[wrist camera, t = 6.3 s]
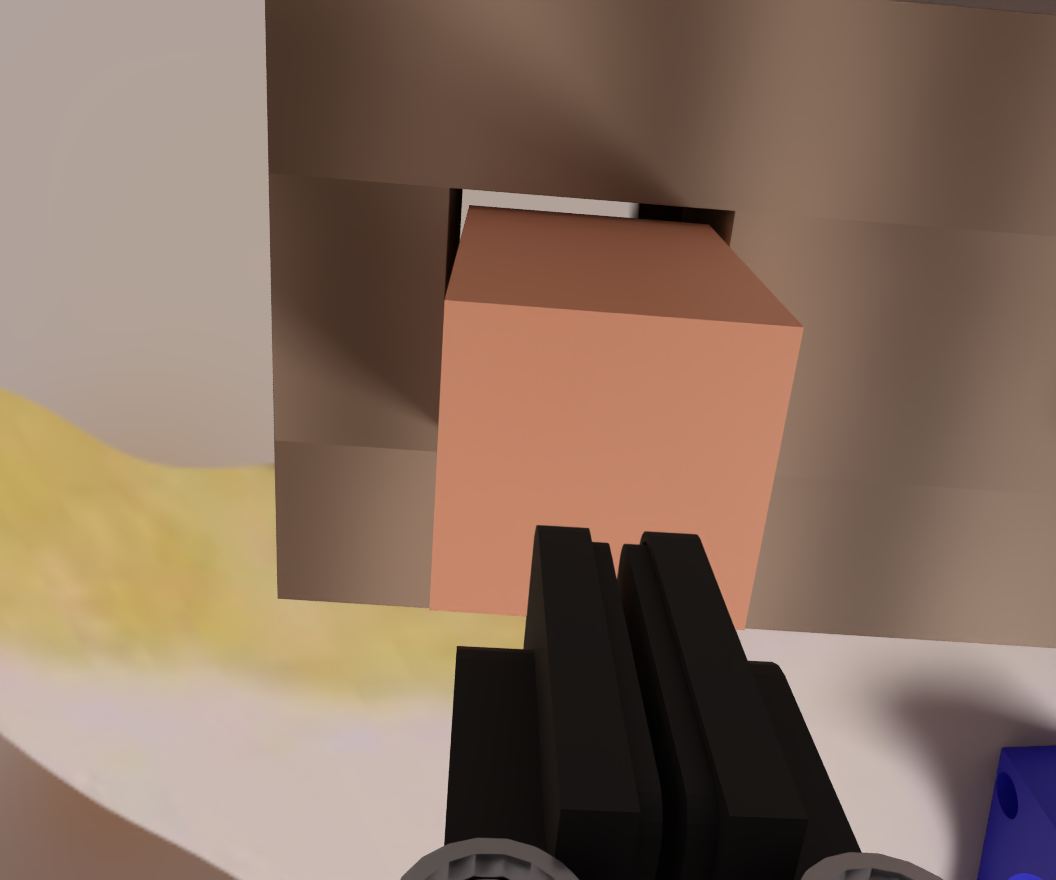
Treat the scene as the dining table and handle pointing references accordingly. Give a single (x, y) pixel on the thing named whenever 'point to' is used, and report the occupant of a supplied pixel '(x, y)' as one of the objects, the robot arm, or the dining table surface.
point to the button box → (745, 226)
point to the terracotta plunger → (603, 398)
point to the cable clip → (1022, 817)
